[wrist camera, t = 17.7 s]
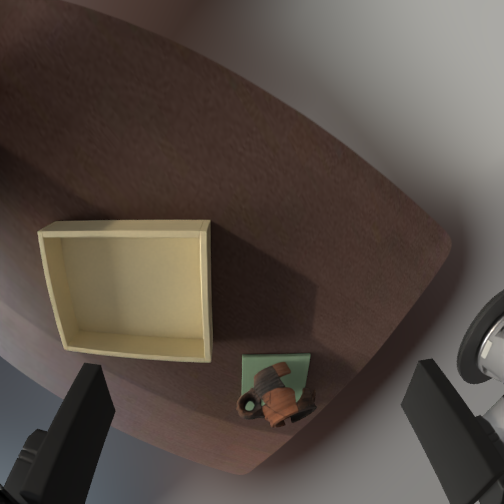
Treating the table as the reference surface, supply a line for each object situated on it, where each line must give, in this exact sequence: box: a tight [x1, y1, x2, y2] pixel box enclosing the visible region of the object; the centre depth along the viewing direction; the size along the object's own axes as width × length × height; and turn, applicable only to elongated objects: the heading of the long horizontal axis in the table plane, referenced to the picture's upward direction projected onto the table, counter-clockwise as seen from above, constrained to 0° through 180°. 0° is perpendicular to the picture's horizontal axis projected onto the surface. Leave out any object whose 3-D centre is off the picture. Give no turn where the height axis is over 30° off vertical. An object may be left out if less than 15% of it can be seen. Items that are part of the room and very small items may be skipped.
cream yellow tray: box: [38, 220, 213, 362], centre depth 39 cm, size 22×18×5 cm
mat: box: [242, 353, 311, 411], centre depth 48 cm, size 10×12×1 cm
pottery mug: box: [236, 362, 317, 428], centre depth 45 cm, size 12×10×8 cm
